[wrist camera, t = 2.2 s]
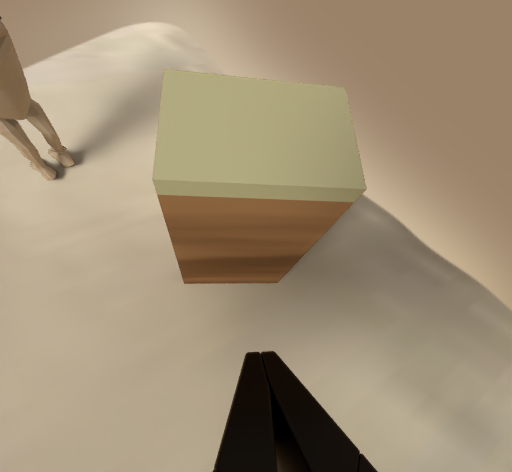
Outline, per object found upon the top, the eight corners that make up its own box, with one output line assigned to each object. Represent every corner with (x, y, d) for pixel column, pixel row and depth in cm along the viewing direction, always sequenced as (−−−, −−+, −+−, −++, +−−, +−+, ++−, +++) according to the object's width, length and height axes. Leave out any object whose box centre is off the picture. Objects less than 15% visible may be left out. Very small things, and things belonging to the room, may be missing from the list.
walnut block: (277, 282, 20) (366, 189, 9) (184, 283, 19) (152, 179, 8) (273, 227, 21) (345, 87, 10) (187, 225, 20) (163, 69, 9)
